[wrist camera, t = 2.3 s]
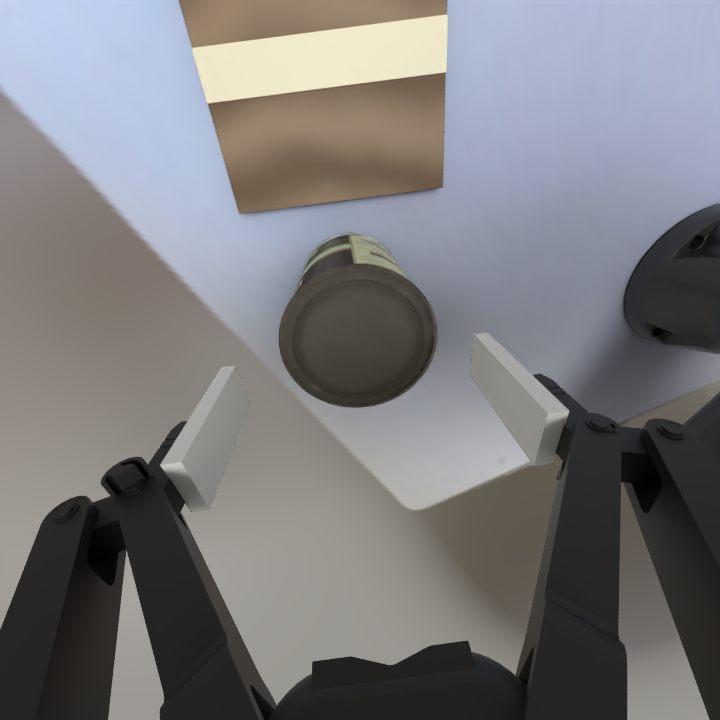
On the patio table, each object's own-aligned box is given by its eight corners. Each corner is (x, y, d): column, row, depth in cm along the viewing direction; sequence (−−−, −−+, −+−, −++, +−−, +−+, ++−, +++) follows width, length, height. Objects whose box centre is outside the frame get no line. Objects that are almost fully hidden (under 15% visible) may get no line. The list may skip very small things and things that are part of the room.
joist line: (445, 72, 23) (446, 72, 22) (208, 103, 23) (207, 103, 22) (446, 15, 21) (447, 14, 21) (192, 49, 21) (191, 48, 21)
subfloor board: (437, 187, 28) (442, 187, 26) (243, 212, 28) (239, 213, 26) (442, -94, 20) (449, -114, 18) (169, -58, 20) (157, -75, 18)
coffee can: (305, 329, 34) (286, 410, 22) (298, 231, 29) (268, 263, 17) (395, 330, 35) (426, 408, 22) (404, 233, 29) (451, 266, 17)
